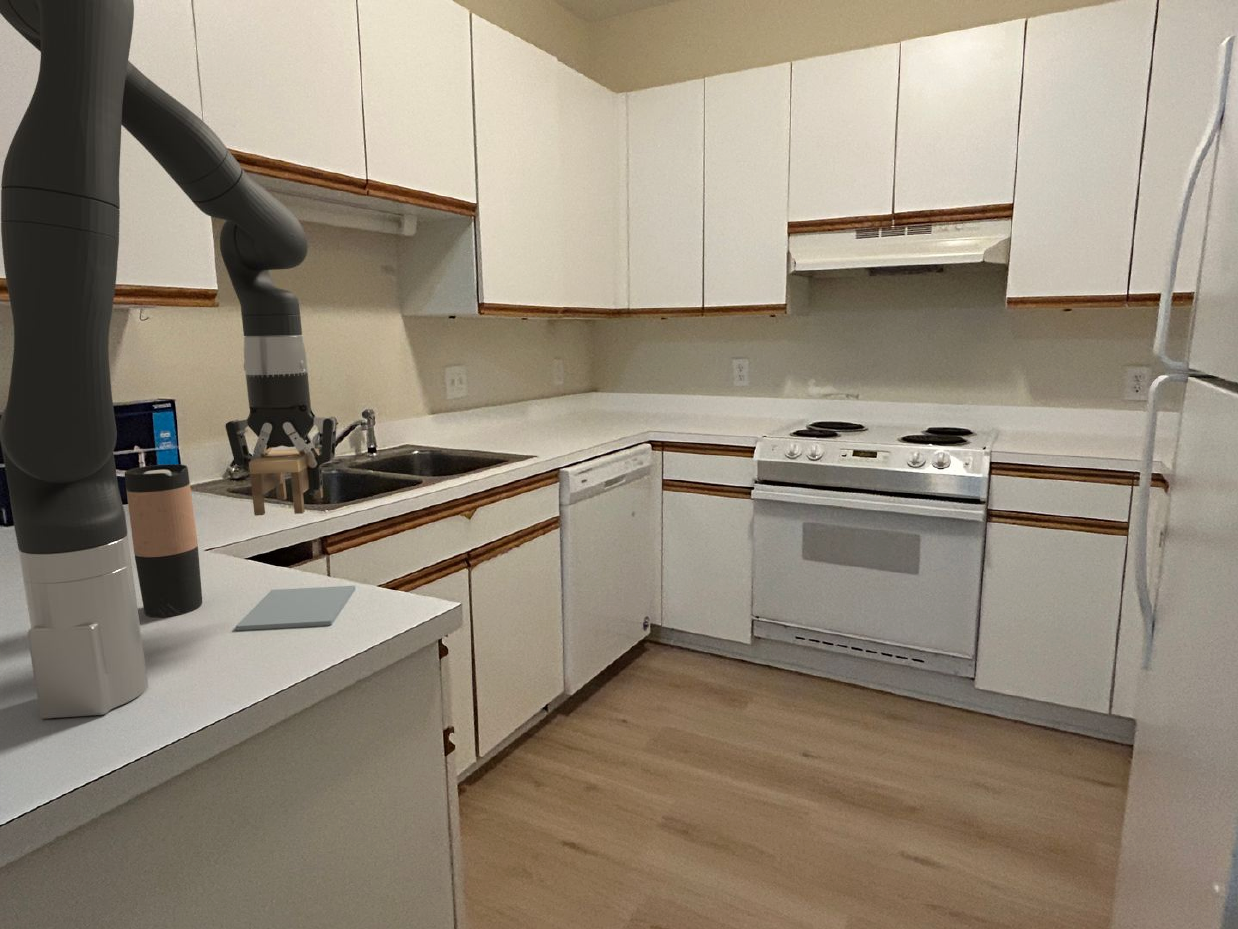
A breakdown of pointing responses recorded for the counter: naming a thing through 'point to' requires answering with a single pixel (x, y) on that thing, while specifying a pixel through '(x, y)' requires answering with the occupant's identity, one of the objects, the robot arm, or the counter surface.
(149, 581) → the travel mug
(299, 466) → the stool
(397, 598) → the counter surface
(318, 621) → the mat
